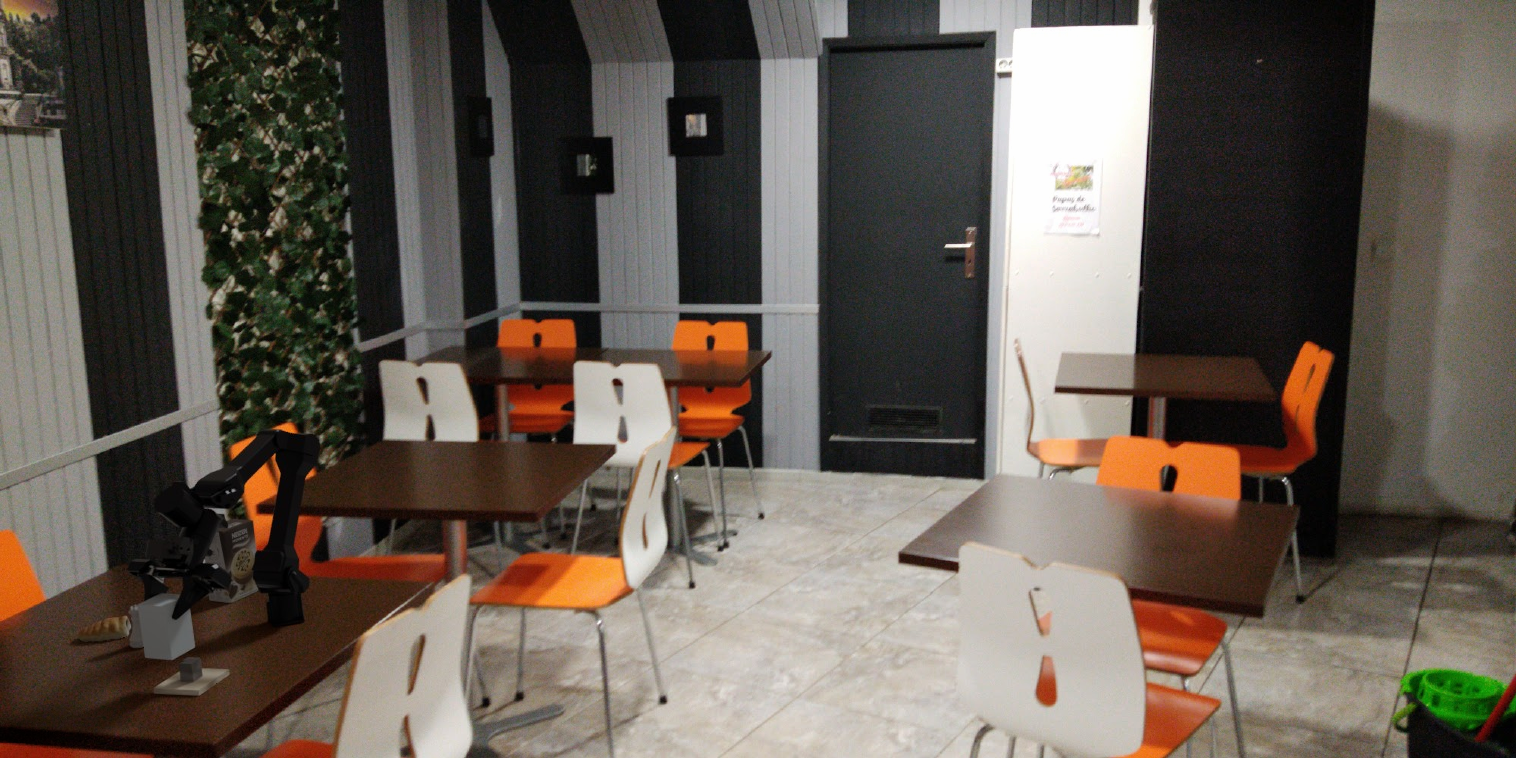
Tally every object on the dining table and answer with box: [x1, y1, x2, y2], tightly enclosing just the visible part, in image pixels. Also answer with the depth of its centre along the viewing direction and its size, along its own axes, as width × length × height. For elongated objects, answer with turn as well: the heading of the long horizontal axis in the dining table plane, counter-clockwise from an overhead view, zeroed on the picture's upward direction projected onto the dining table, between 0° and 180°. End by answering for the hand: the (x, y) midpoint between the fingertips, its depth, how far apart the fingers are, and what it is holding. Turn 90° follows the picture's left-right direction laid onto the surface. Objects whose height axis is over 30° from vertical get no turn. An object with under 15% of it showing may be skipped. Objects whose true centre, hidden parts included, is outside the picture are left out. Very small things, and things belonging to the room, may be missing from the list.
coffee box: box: [204, 518, 259, 604], centre depth 265 cm, size 9×6×16 cm
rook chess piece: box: [128, 604, 144, 649], centre depth 239 cm, size 4×4×8 cm
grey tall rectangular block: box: [136, 592, 196, 661], centre depth 218 cm, size 6×6×10 cm
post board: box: [152, 656, 230, 697], centre depth 220 cm, size 9×9×4 cm
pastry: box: [77, 615, 132, 643], centre depth 245 cm, size 9×7×4 cm
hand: (159, 618), depth 216 cm, fingers closed on grey tall rectangular block, 6 cm apart
